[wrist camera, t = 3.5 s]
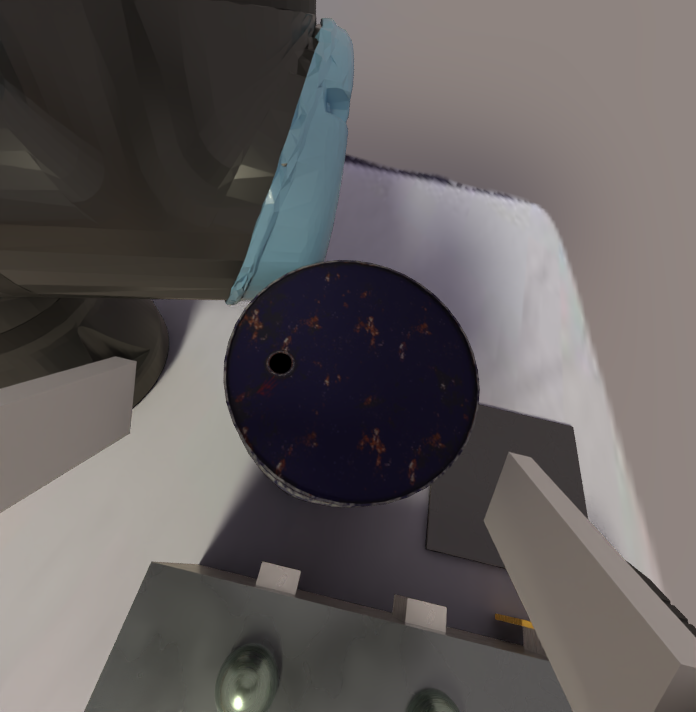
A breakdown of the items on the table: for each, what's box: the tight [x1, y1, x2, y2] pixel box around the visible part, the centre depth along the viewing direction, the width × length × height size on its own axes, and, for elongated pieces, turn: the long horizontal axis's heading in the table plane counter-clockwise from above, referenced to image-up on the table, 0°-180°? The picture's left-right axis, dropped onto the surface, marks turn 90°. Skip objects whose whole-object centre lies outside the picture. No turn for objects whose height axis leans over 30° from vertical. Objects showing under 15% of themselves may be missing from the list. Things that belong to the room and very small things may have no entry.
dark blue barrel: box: [224, 260, 480, 508], centre depth 20 cm, size 10×10×15 cm
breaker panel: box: [84, 405, 588, 712], centre depth 20 cm, size 26×22×9 cm
